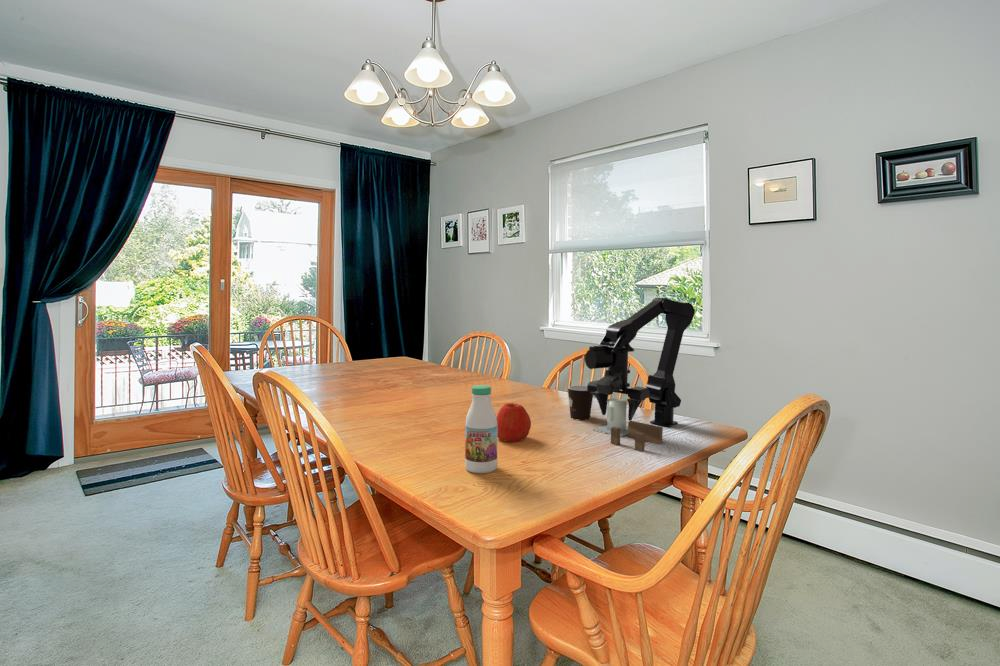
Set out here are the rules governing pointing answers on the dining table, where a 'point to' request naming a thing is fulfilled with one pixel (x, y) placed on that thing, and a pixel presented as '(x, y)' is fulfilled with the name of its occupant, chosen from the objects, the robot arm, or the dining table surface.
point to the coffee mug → (580, 402)
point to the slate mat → (604, 429)
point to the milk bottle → (481, 432)
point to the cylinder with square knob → (616, 414)
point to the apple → (513, 423)
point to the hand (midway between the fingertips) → (616, 417)
